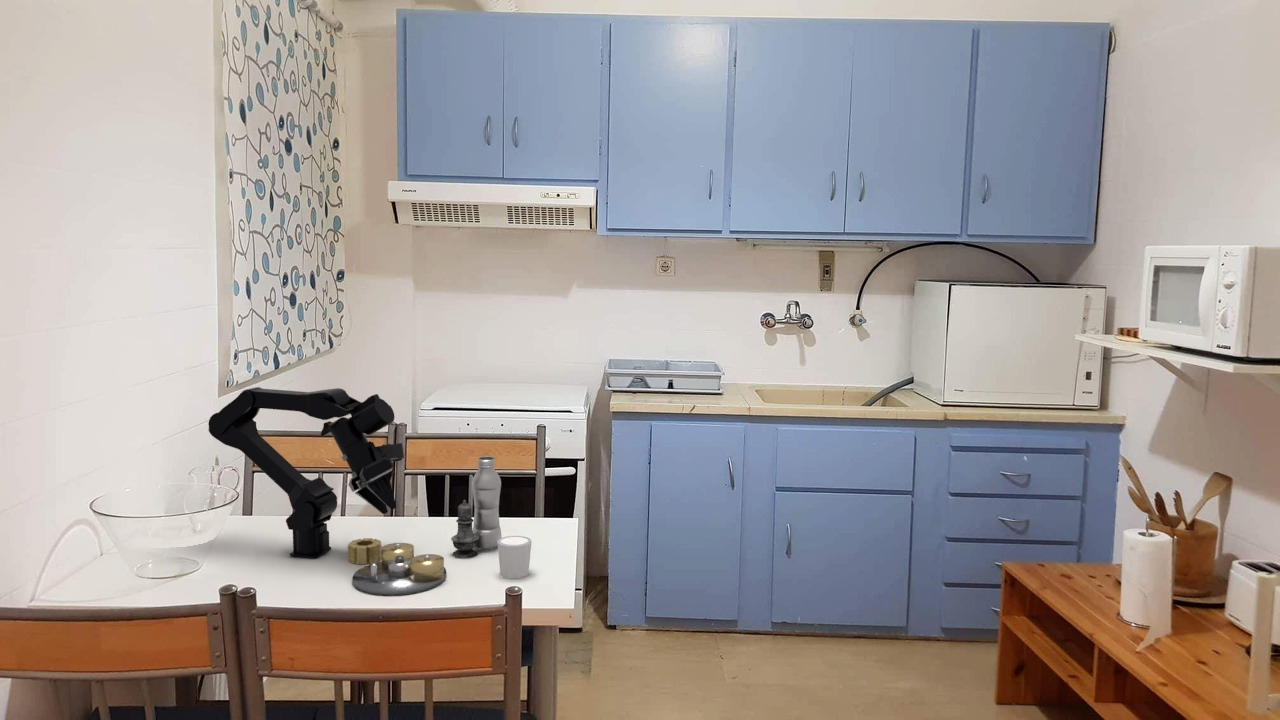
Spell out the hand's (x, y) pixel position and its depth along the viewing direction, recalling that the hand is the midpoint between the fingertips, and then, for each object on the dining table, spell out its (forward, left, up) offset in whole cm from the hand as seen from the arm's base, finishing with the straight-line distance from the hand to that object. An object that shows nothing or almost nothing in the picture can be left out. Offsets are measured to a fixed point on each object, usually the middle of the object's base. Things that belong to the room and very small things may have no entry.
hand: (389, 511), depth 196 cm
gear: (-6, 0, -11) cm, 12 cm away
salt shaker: (+13, +8, -11) cm, 19 cm away
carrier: (+6, -9, -11) cm, 15 cm away
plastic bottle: (+16, +13, -11) cm, 24 cm away
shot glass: (+27, -1, -11) cm, 29 cm away
